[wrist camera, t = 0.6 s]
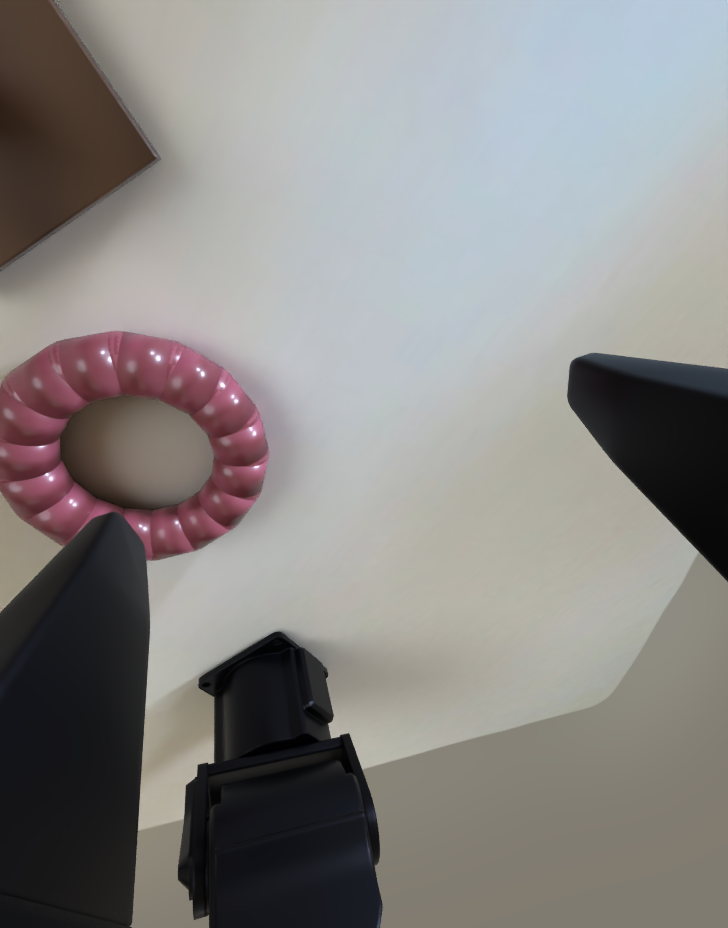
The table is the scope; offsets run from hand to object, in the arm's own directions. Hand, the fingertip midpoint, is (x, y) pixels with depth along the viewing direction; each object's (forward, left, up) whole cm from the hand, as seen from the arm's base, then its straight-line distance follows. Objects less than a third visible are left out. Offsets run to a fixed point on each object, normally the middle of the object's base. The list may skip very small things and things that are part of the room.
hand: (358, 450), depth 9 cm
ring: (-9, -2, -12) cm, 15 cm away
